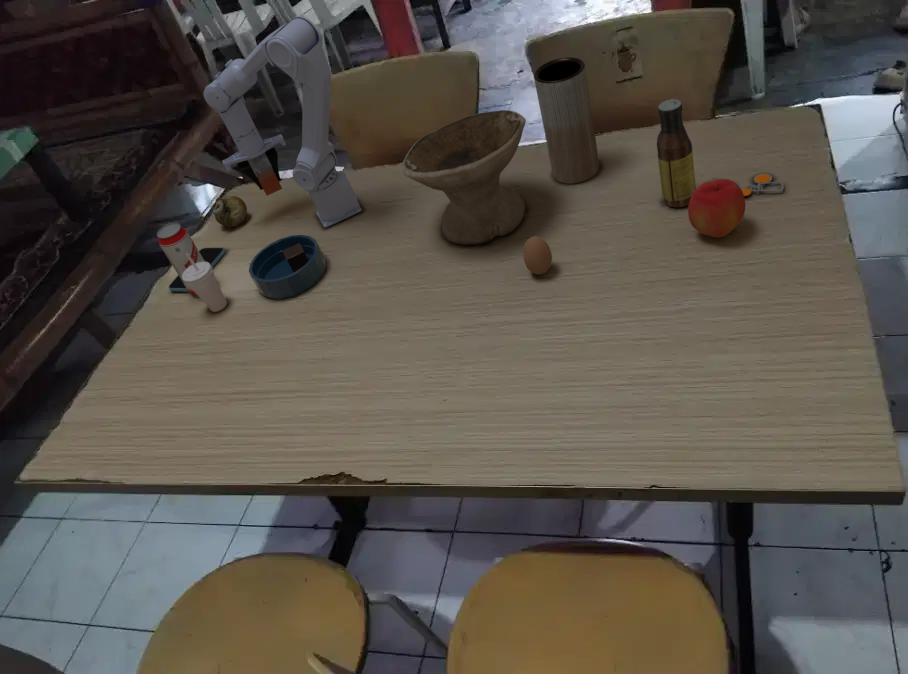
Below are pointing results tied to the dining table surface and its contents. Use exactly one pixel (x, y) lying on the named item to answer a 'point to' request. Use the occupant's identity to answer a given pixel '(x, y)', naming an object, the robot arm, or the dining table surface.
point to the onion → (230, 211)
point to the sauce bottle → (675, 156)
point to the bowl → (471, 174)
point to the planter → (567, 119)
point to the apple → (716, 207)
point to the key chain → (761, 180)
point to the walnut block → (295, 257)
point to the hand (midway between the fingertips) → (270, 183)
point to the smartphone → (208, 255)
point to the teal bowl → (286, 268)
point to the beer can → (178, 248)
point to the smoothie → (204, 284)
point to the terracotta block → (269, 181)
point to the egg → (537, 255)
